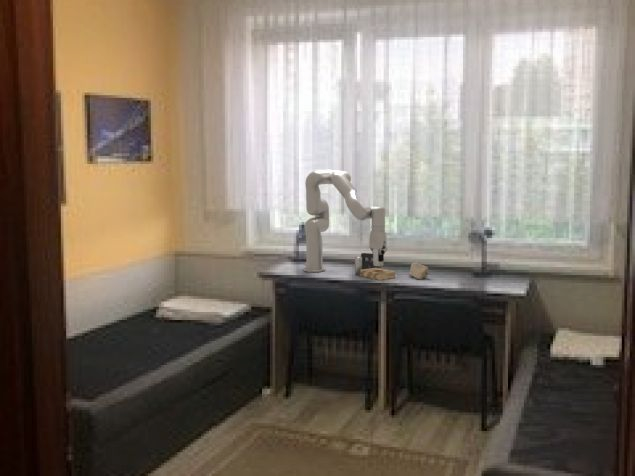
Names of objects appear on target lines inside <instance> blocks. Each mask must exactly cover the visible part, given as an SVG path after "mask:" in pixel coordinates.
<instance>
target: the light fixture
mask: <svg viewBox="0 0 635 476" xmlns="http://www.w3.org/2000/svg"><path fill="white" fill-rule="evenodd" d="M360 257H362V270H364V269H370V268H380V269H382V266H374V265H373V253H372V252H370V253H369V252H368V253H367V252H361V254H360Z"/></svg>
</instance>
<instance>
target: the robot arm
mask: <svg viewBox="0 0 635 476" xmlns="http://www.w3.org/2000/svg"><path fill="white" fill-rule="evenodd" d="M351 181H352V176H351V174H350V173H349V172H348V171H346V170H336V169H317V170H314V171H311V172H310V173H308V175H307V176H306V178H305V182H304V183H305V202H306V204H305V205H306V206H305V207H306V213H307V214H309V215H310V216H314V217H310V218H309V219H307V220H306V221H305V224H304V231H305V242H306V243H305V244H306V247H305V249H306V258H305V259H306V262H304V263H303V266H305V267H304V268H303V271H304V272H306V273H307V272H308V273H321V272H324V271H326V268H325V267H323V238H322V233H324V232H326V231H328V229H329V227H330V207H329V203H328V202H327V200H326V199H324V198H321V190H320V185H333V186H334V188H336V190H337V192H338V193H340V195H341V196H342V197H343V199H344V201H345V204H346V207H347V209H348V211H349V212H350V213H351V215H352V216H353V217H355V218H356V219H357V220H358V221H364V220H365V221H366V220H369V219H370V220H371V230H370V233H369V243H368V244H369V245H368V246H369V249H370V250H371V253H373V249H379V253H380V255H379V262H382V261H383V262H384V261H385V258H384V255H385V254H386V252H387V251H388V250H389V249H388V245H387V242H388V241H387V240H388V239H387V233H386V209H385V207H384V206H372V205H364V206H362V205H361V203H360V202H359V200H358V199H357V196H356V195H357V188H356V187H355V186H354V185H353V184H352V182H351ZM381 250H382V252H381Z"/></svg>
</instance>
